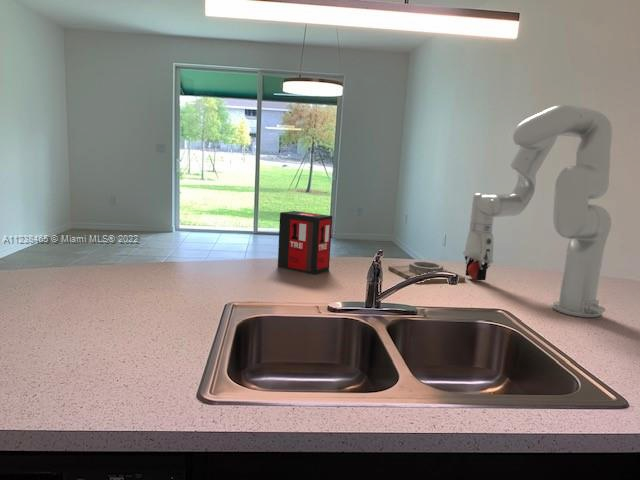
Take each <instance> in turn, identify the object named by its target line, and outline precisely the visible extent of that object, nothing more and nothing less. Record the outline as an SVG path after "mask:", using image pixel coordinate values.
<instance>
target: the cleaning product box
mask: <svg viewBox="0 0 640 480" xmlns="http://www.w3.org/2000/svg"><path fill="white" fill-rule="evenodd" d="M332 224H333V215H329V214H320V213H313V212H305V211H296V210H291V211H283V212H279V228H278V229H279V230H278V253H277V268H281V269H285V270H291V271H296V272H300V273H305V274H308V275H314V276H316V275H319V274H323V273H326V272H329V271H330V262H331V261H330V260H331V259H330V257H331V243H332V227H333V225H332Z"/></svg>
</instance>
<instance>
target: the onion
mask: <svg viewBox="0 0 640 480" xmlns="http://www.w3.org/2000/svg"><path fill="white" fill-rule="evenodd" d="M478 269H480V267H479V261H478V260H475V261H474V262H472V263H471V264H470V265H469V267H468V274H469V277H470V278H471V279H472V280H473V281H475V282H476V281H478V280H477V275H478Z"/></svg>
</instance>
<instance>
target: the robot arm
mask: <svg viewBox="0 0 640 480" xmlns="http://www.w3.org/2000/svg"><path fill="white" fill-rule="evenodd" d="M611 123H612V122H611V121H610V119H609V118H608V116H606V115H605V114H604V113H602V112H600V111H598V110H596V109H592V108H589V107H583V106H575V105H570V104H558V105H554V106H552V107H549V108H547V109H545V110H543V111H541V112H538V113H537V114H534V115H532V116H529V117H528V118H525V119H524V120H522V121H521V122H520V123H518V125H517V126H516V128H515V129H514V131H513V135H512V139H513V143H514V144H515V145H516V146H517V147H518V150H517V152H516V154H515V155H514V156H513V158H512V160H511V162H510V167H511V169H512V170H513V171H514V172H515V173H516V174H517V183H516V185H515V187H514V188H513V190H512V192H511V193H510V194H509V193H508V194H507V193H506V194H505V193H503V194H494V193H490V192H475V193H474V194H473V196H472V203H471V204H472V205H471V213H470V214H471V215H470V222H469V223H470V225H469V230H468V234H467V239H466V244H465V250H464V251H463V252H462V253H463V256H464V260H465V265H466V266H465V268H466V269H465V276H469V274H468V267H469V265H470V264H471V263H472V262H474V261H475V260H478V261H479V267H480V269H478V275H477V281H486V279H487V278H486V277H487V271H488V270H489V268H490V266H491V265H492V264H493V263H494V260H493V256H494V234H493V233H492V231H493V225H494V218H504V217H517V216H519V215H521V214H522V213H523V212H524V211H525V209H526V208H527V207H528V205H529V203H530V202H531V200H532V198H533V196H534V195H535V191H536V184H537V178H536V175H537V173H538V172H539V170H540V168H541V167H542V165H543V163H544V161H545V160H546V158H547V156H548V155H549V153H550V152H551V150H552V148H553V147H554V145H555V143H556V141H557V139H558V137H559V136H562V137H563V136H565V137H572V138H573V137H574V138H579V139H580V142H579V144H578V147H577V150H576V157H575V158H576V159H575V164H573V165H570V166H567V167H565V168H564V169H562V170H561V171H560V172H559V174H558V176H557V177H556V181H555V185H554V197H553V198H554V199H553V213H552V214H553V218H552V219H553V226H554V229H555V231H556V233H557V234H558V235H559V236H560V237H562V238H564V239H569V241H568V244H567V246H566V251H565V257H564V264H563V271H562V278H561V285H560V292H559V298H558V301H555V302H552V309H554V310H555V311H557V312H559V313H562V314H565V315H569V316H573V317H578V318H579V317H581V318H597V317H599V316H601V315H603V313H605V311H606V308H605V307H603V306H600V305H599V303H600V300H599V299H597V295H598V289H599V282H600V277H601V270H602V263H603V259H604V258H603V257H604V252H605V246H606V244H607V240H608V237H609V235H610V232H611V227H612V218H611V215H610V213H609V211H608V210H607V209H606V208H604V207H602V206H601V205H597V204H589V200H590V201H591V200H598V199H600V198H602V197H603V196H605V195H606V194H607V192H608V189H609V185H610V169H611V168H610V167H611V147H612V138H613V127H612V124H611ZM469 277H470V276H469Z"/></svg>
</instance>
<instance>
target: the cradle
mask: <svg viewBox="0 0 640 480" xmlns="http://www.w3.org/2000/svg"><path fill="white" fill-rule="evenodd" d="M387 270H388V271H390V272H391V273H394V274H396V275H398V276H400V277H401V278H404V279H406V280H407V278H410V277H413V276H417V275H421V274H424V273H428V272H433V271H450V270H448V269H445V268H444V265H442V264H440V263H437V262H430V261H422V260H421V261H420V260H419V261H418V260H417V261H411V262H410V263H409V265H408V264H407V265H388V268H387ZM450 272H452V271H450ZM458 275H459V282H458V283H462V282H463V283H465V282H466V277H465V276H463V275H460V274H458ZM436 283H437V284H440V283H448V282H447V279H430V280H426V281H424V282H420V283H419V284H436ZM416 284H418V283H416Z"/></svg>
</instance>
